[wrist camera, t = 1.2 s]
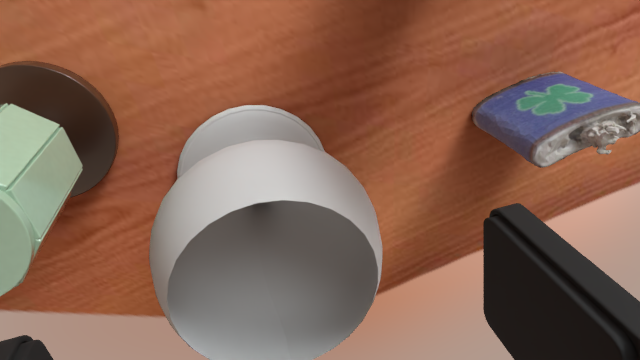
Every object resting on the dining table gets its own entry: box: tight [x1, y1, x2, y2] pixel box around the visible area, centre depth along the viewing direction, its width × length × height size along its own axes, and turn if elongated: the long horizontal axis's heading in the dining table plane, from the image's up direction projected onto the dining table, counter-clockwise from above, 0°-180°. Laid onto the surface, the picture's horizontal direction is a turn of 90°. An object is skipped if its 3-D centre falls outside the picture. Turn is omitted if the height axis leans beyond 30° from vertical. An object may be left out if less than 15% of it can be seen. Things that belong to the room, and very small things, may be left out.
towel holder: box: [0, 61, 119, 197], centre depth 27 cm, size 10×10×14 cm
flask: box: [472, 72, 640, 167], centre depth 36 cm, size 9×3×11 cm, turn 107°
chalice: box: [149, 105, 382, 360], centre depth 32 cm, size 14×14×15 cm
